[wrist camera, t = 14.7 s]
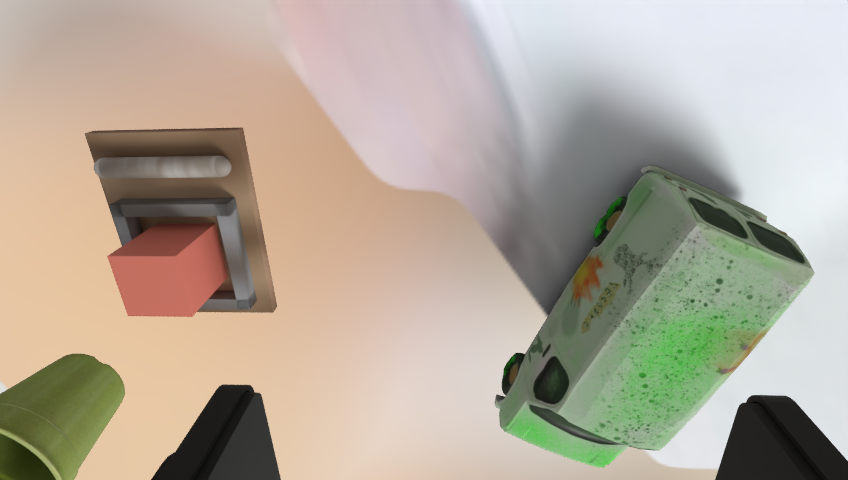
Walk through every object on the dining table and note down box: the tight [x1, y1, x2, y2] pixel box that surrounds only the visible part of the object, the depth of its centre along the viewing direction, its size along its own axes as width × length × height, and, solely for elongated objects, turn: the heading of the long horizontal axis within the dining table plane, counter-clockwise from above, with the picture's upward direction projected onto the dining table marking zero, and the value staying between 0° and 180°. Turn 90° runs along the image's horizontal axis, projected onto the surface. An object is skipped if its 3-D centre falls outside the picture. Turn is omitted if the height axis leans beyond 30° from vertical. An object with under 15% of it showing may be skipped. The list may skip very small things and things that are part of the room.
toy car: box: [495, 165, 814, 467], centre depth 36 cm, size 11×25×10 cm, turn 158°
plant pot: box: [0, 354, 125, 480], centre depth 43 cm, size 12×12×11 cm
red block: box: [108, 223, 228, 317], centre depth 37 cm, size 5×5×6 cm
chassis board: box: [85, 128, 277, 312], centre depth 39 cm, size 16×12×3 cm
